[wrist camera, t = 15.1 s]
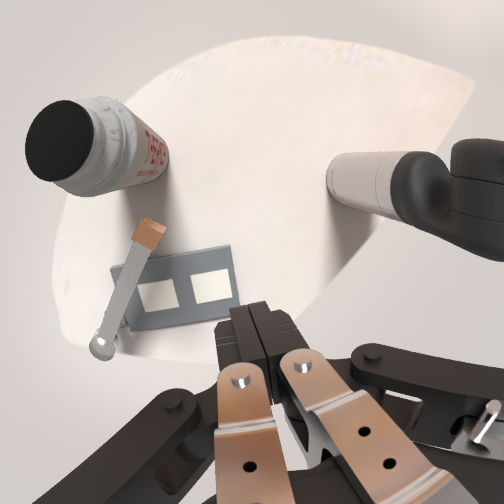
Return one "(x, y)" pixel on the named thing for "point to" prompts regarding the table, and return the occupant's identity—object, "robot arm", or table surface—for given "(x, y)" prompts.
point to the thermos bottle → (93, 147)
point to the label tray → (182, 289)
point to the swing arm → (126, 287)
